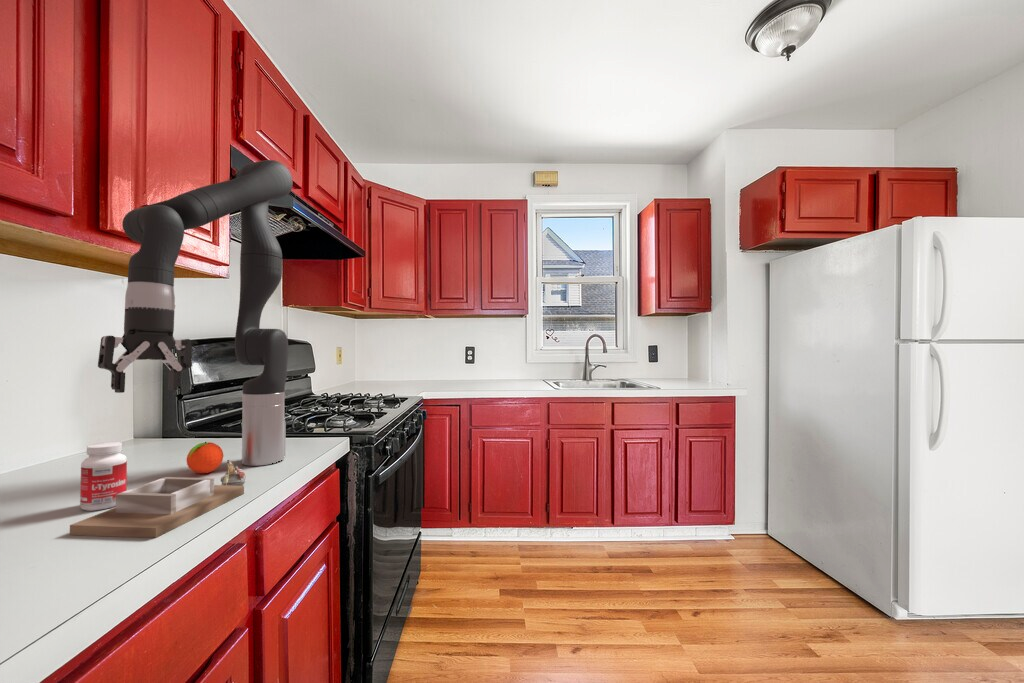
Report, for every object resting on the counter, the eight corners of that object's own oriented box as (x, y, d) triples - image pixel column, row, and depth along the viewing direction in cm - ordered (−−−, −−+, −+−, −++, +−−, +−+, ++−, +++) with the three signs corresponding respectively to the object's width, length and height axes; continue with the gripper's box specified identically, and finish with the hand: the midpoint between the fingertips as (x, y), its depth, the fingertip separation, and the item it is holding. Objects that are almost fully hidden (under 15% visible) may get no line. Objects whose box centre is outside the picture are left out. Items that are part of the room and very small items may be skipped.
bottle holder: (176, 491, 88) (176, 468, 88) (244, 493, 87) (244, 470, 87) (69, 534, 68) (70, 505, 68) (155, 537, 67) (156, 508, 67)
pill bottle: (87, 514, 76) (88, 450, 76) (74, 507, 79) (75, 445, 79) (132, 503, 82) (133, 443, 82) (118, 497, 85) (118, 439, 85)
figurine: (232, 480, 95) (231, 454, 94) (252, 481, 94) (250, 455, 93) (214, 492, 89) (212, 464, 89) (235, 493, 89) (233, 465, 88)
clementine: (203, 479, 96) (203, 446, 96) (174, 478, 96) (174, 445, 97) (230, 469, 104) (230, 439, 104) (203, 468, 104) (203, 438, 104)
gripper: (181, 312, 94) (178, 389, 93) (94, 304, 82) (90, 392, 81) (200, 310, 91) (198, 389, 90) (113, 302, 78) (108, 394, 77)
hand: (147, 391), depth 85 cm, fingers open, 8 cm apart
